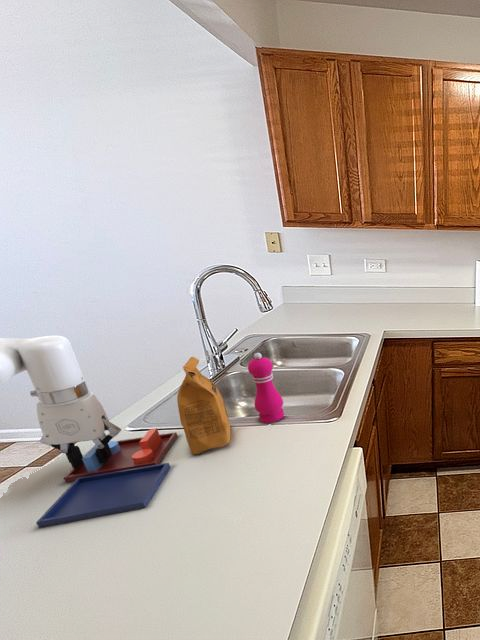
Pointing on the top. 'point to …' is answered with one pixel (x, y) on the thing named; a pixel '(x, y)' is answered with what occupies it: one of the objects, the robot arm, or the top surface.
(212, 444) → the coffee package
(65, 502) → the navy tray
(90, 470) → the blue spoon
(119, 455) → the maroon tray
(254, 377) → the pepper mill
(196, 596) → the top surface
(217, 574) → the top surface
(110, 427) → the robot arm
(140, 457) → the coral spoon
